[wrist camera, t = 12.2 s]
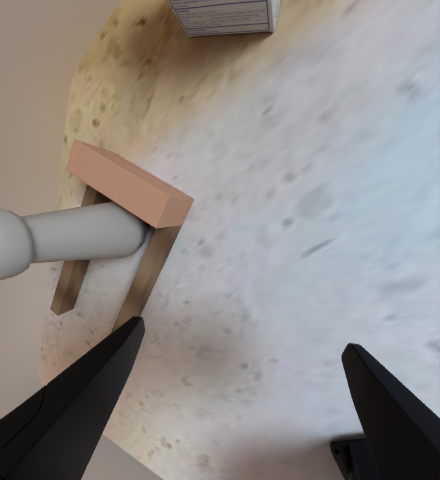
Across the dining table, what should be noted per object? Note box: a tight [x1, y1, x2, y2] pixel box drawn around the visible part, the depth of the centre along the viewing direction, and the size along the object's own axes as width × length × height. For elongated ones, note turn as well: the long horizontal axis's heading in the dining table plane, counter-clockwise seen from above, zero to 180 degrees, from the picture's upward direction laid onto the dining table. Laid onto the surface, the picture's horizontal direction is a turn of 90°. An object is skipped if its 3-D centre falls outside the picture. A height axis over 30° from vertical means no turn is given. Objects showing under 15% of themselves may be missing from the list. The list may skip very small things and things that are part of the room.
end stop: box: [66, 139, 194, 228], centre depth 19 cm, size 3×11×4 cm, turn 62°
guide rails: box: [50, 184, 182, 333], centre depth 24 cm, size 19×11×2 cm, turn 152°
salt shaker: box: [0, 202, 149, 280], centre depth 17 cm, size 6×6×13 cm
